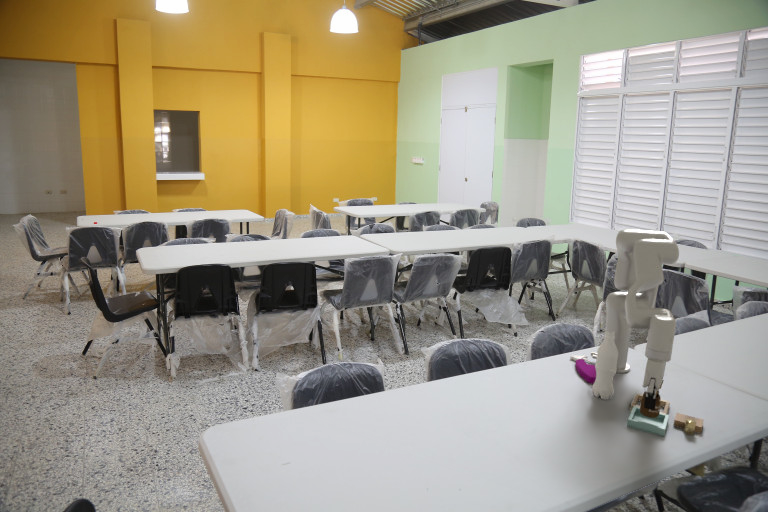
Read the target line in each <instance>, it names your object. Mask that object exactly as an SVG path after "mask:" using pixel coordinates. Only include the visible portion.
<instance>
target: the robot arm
mask: <svg viewBox="0 0 768 512" xmlns="http://www.w3.org/2000/svg"><path fill="white" fill-rule="evenodd" d="M616 234H617V235H616V239H615V244H616V249H617V260H616V266H615V273H614V279H613V280H614V281H613V285H614V287H615V289H617V290H619V291H614V292H610V293H608V295H606V296H607V297H606V299H605V302H606V303H605V307H606V318H605V319H606V321H605V329H604V336H605V334H606V330H613V331H615V335H614V336H615V339H614V342H615V345H616V347H617V350H618V359H617V367H616V368H617V370H616V373H615V374H624V373H629V371H630V370H631V365H630V364H629V363H628V354H629V347H630V339H631V334H632V333H631V332H632V329H633V330H642V331H648V332H647V339H646V345H645V352H644V356H645V357H646V359H647V361H646V365H645V372H644V377H643V381H642V382H643V383H642V388H646V391H647V393H646V396H645V402H644V408H647V409H651V410H655V404H656V392H657V391H658V394H659V395H660V390H661V389H660V386H661V383H662V380H664V376H665V370H666V365H667V363H668V362H670V361H671V360H672V354H673V353H672V352H673V346H674V340H675V335H676V327H677V321H676V319H675V318H674V315H673V313H672V311H671V310H670V309H667V308H663V307H662V308H660V307H655V304H656V299H657V294H658V290H659V286H660V285H662V284H663V282H664V281H665V280H664V279H665V278H664V271H663V264H664V265H665V264H666V265H674V264H676V263H677V261H678V260H679V257H680V250H679V245H678V244H677V242H676V240H675V239H674V238H673V237H671V235H669V234H668V233H667V232H666V231H662V230H661V231H660V230H645V229H622V230H620V231H619V232H618V233H616ZM604 336H603V337H604ZM604 339H605V337H604V338H603V340H604ZM590 357H592V359H594V360H595V359H597V351H596V352H595V351H591V352H590ZM653 392H654V393H653Z"/></svg>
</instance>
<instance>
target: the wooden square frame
mask: <svg viewBox="0 0 768 512" xmlns="http://www.w3.org/2000/svg"><path fill="white" fill-rule="evenodd" d="M642 397H643V394H641V393H635V396H634V398H633V400H632V402H631V405H630V409H629V410H630V412H631V411H632V409H633V407H634V406H636V407H640V405H637V404H638V402H641V399H642ZM639 400H640V401H639ZM660 402H661V406H660V407H663V406H664V407H663V408H664V409H663V411H660V413H662V414H666V415H668V413H667V412H669V409H670V405H671V401H668V400H664V399H661V398H660Z"/></svg>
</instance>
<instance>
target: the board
mask: <svg viewBox="0 0 768 512" xmlns="http://www.w3.org/2000/svg"><path fill="white" fill-rule="evenodd" d="M686 419H692V420H694V421H695V422H696V426H695V432H694V433H698V432H699V433H698V434H701V433H702V430H703V427H704V420H705V419H702V418H698V417H695V416H691V415H688V414H684V413H681V412H680V413H679V412H676V414H675V417H674V420H673V425H675V426H674V427H676V426H678V427H677V428H680V427H681V428H680V429H684V427H685V421H686Z"/></svg>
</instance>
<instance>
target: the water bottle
mask: <svg viewBox="0 0 768 512" xmlns="http://www.w3.org/2000/svg"><path fill="white" fill-rule="evenodd" d="M604 335H605V336H603V337H605V339H604V338H603V341H602V342H601V343H600V345H599V347H598V348H597V351H596V353H597V359H596V360H595V368H596V380H595V383H594V384H592V392H593V396H594V397H596V398H599V397H600V399H602V400H604V401H605V400H608V399H611V398H612V397H613V395H614V391H615V390H614V385H613V382H614V377H615V375H616V374H617V373H616V370H617V368H616V367H617V359H618V350H617V347H616V345H615V342H614V339H615V336H614V335H615V331H613V330H606V334H605V333H604Z"/></svg>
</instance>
